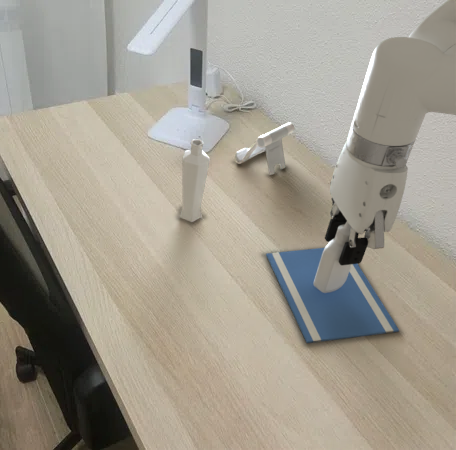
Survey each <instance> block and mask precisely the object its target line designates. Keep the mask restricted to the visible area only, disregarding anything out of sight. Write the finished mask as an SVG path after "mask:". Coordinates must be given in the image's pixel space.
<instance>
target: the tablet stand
mask: <svg viewBox="0 0 456 450" xmlns="http://www.w3.org/2000/svg"><path fill="white" fill-rule="evenodd" d="M295 130H296V127H295V125H294V124H293V123H292V122H287V123H285V124H282V125H281V126H279V127H277V128H275V129H272V130H271V131H268V132H266V133H265V134H264V133H263V134H262V135H260V136H258V137H256V139H255V140H254V142H253V144H252V145H251V146H250V147H249V148H248V147H244V148H241V149H240V150H238V151H236V152H235V155H234V161H235V162H236V163H237V164H244V163H245V162H247V161H248V160H251V159H252V158H254V157H256V156H258V155H260V154H262V153H264V152H265V155H266V156H265V158H266V163H267V169H268V174H269V175H271V176H272V175H274V174H275V173H276V172H275V171H276V169H275V167H276V166H279V169H280V170H283V169H285V168H286V160H285V152H284V144H283V138H285V137H287V136H290V135H291V134H293V133H295Z"/></svg>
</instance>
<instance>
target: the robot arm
mask: <svg viewBox="0 0 456 450" xmlns="http://www.w3.org/2000/svg"><path fill="white" fill-rule="evenodd" d="M362 84H363V85H362V88H361V91H360V95H359V98H358V101H357V105H356V107H355V111H354V115H353V118H352V121H351V124H350V128H349V131H348V135H347V138H346V141H345V144H344V145H343V148H342V150H341V152H340V154H339V157H338V159H337V162H336V165H335V168H334V170H333V172H332V173H333V174H332V177H331V180H330V182H329V194H330V197H331V199H330V200H331V201H332V202H331V203H332V206H331V209H330V211H329V215H330V219H329V222H328V225H327V229H326V232H325V236H324V240H325V242H327V243H329V242H330V241H331V240H332V239H334V238H335V236H336V233H337V229H338V227H339V226H340V225H344V224H346V222H347V221H348V223H349V224H350V226H351V232H350V237H349V242H345V244H344V247H343V250H342V253H341V256H340V259H339V263H340V265H350V264H358V265H359V264H361V263H362V261H363V259H364V256H365V253H366V250H367V248H368V249H372V250H376V249H377V250H378V249H384V248H385V233H388V232H391V230H392V229H393V227H394V224H395V223H396V219H397V216H398V213H399V210H400V207H401V204H402V200H403V197H404V194H405V188H406V183H407V179H408V170H409V169H408V166H407V163H408V160H409V158H410V156H411V152H412V150H413V147H414V145H415V142H416V140H417V137H418V135H419V132H420V129H421V127H422V124H423V122H424V119H425V117H426V115H427V114H428V113H436V114H437V113H438V114H444V115H445V114H446V115H452V116H456V0H446V1H445V2H444V3H442V4H441V5H439V6H438V7H437V8H436V9H435V10H433V11H432V12H431V13H429V15H427V16H426V17H425V18H424V19H423V20H421V22H419V23H418V24H417V25H416V26H415V27H414V28H413V30H412V31H411V33H410V34H409V35H408V36H394V37H389V38H387V39H384V40H382V41H380V43H378V44H377V45H376V47H375V48H374V50H373V51H372V55H371V57H370V60H369V64H368V67H367V71H366V73H365V77H364V81H363V83H362ZM363 234H364V236H363V237H359V235H363Z"/></svg>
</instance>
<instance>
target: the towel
mask: <svg viewBox="0 0 456 450" xmlns="http://www.w3.org/2000/svg"><path fill="white" fill-rule="evenodd" d="M324 248H325V247H319V248H318V247H317V248H308V249H306V248H305V249H299V250H298V249H297V250H288V251H276V252H268V253H266V255H265V256H266V259H267V260H268V263H269V265H270V267H271V269H272V271H273V273H274V275H275V277H276V280H277V282H278V284H279V287H280V289H281V291H282V293H283V295H284V297H285V299H286V302H287V304H288V306H289V308H290V311H291V313H292V315H293V317H294V319H295V321H296V323H297V326H298V327H299V330H300V332H301V334H302V336H303V338H304V340H305V343H306V344H314V343H320V342H328V341H329V342H330V341H335V340H345V339H353V338H361V337H368V336H374V335H375V336H376V335H384V334H391V333H398V332H400V329H399V327H398V326H397V324H396V322H395V321H394V319H393V318H392V316H391V315H390V312H389V311H388V310H387V308H386V307H385V305H384V303H383V302H382V300H381V299H380V297H379V296H378V293H376V290H375V289H374V287H373V286H372V285H371V283H370V282H369V280H368V278H367V276H366V274H364V272H363V270H362V268H361V267H360V265H359V264H352V265H351V268H350V271H349V274H348V277H347V280H346V281H345V283H344V284H343V286H342V287H340V288H339V289H337V290H335V291H333V292H329V293H323V292H321V291H320V290H318V289H317V288H316V287H315V286H314V280H315V276H316V273H317V270H318V266H319V263H320V260H321V257H322V254H323V251H324Z"/></svg>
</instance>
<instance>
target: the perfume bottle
mask: <svg viewBox="0 0 456 450" xmlns="http://www.w3.org/2000/svg"><path fill="white" fill-rule="evenodd" d="M204 144H205V143H204V141H203V140H202V139H199V138H197V139H195V138H194V139H191V141H190V149H188V150H187V149H186V150H185V151H184V153H183V156H182V161H181V165H182V167H181V170H182V171H181V172H182V173H181V175H182V177H181V178H182V179H181V181H182V182H181V183H182V185H181V186H182V189H181V190H182V191H181V192H182V195H181V196H182V197H181V198H182V208H181V212H180V215H179V218H180V219H183V220H185V221H188V222H190V223H193V222H195V221H198V220H199V219H201V218H202V217H203V215H202V211H201V207H202V202H203V196H204V192H205V188H206V182H207V177H208V172H209V168H210V167H209V166H210V162H211V158H210V157H209V155H208V154H207V153H206V152H205V151H204V150H203V147H204Z"/></svg>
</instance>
